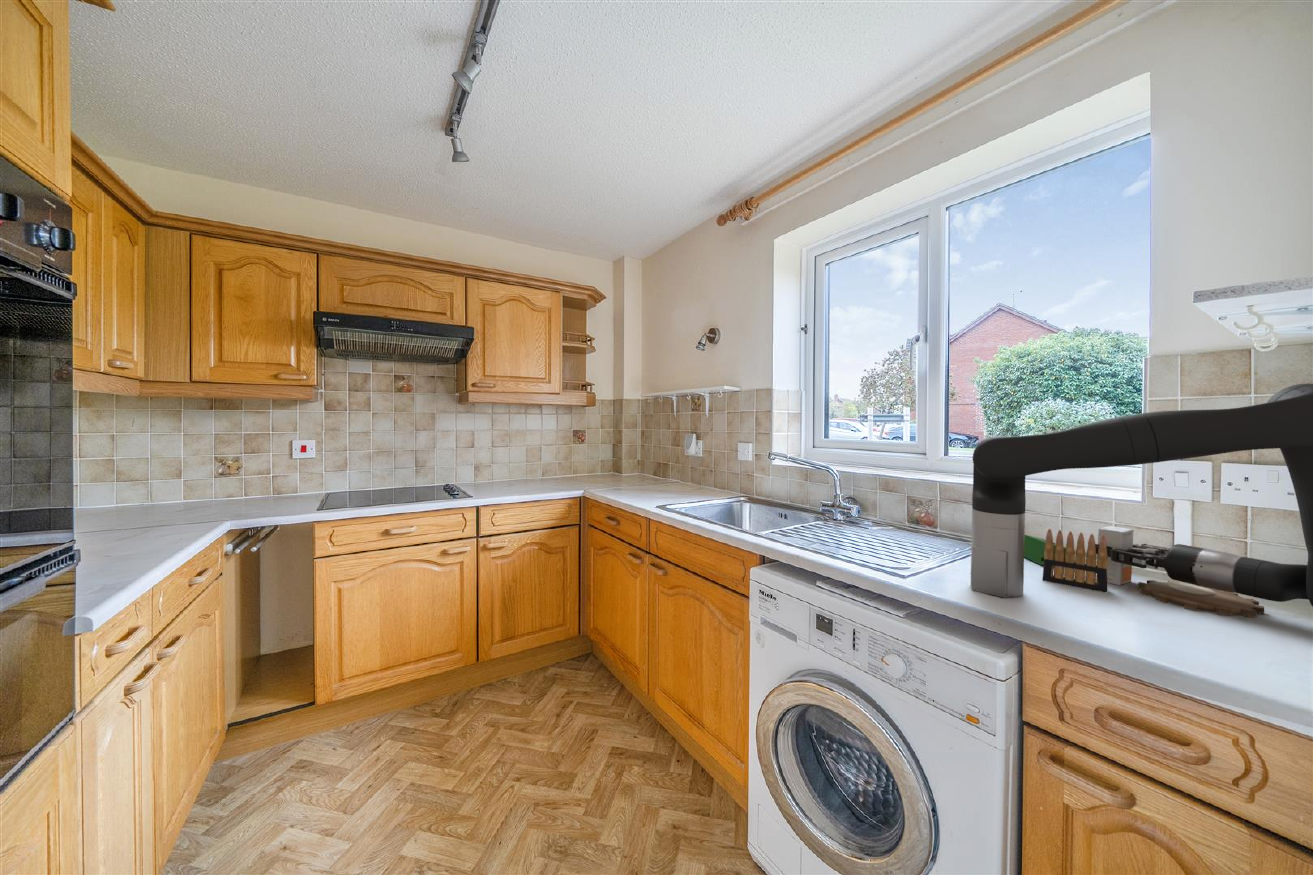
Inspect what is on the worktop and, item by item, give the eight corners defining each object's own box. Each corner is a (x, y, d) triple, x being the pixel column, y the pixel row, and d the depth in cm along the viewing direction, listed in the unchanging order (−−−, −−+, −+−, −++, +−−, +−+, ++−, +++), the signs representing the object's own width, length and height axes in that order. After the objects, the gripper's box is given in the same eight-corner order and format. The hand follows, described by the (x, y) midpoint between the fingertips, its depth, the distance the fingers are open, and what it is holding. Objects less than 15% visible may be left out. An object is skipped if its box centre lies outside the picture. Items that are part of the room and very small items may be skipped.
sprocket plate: (1260, 624, 83) (1261, 617, 83) (1129, 596, 97) (1130, 589, 97) (1266, 603, 93) (1266, 596, 93) (1146, 580, 106) (1146, 574, 106)
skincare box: (1120, 586, 103) (1122, 532, 102) (1095, 580, 106) (1097, 528, 106) (1132, 581, 105) (1134, 529, 105) (1107, 576, 109) (1109, 525, 109)
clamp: (1061, 583, 117) (1081, 556, 113) (1035, 576, 118) (1055, 549, 114) (1037, 553, 127) (1055, 527, 123) (1014, 547, 128) (1031, 521, 124)
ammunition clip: (1107, 590, 100) (1109, 535, 100) (1107, 592, 99) (1109, 536, 98) (1043, 578, 108) (1044, 527, 107) (1042, 580, 106) (1043, 528, 106)
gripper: (1226, 545, 95) (1120, 528, 110) (1188, 553, 90) (1083, 533, 105) (1224, 582, 95) (1119, 559, 111) (1186, 591, 90) (1082, 566, 106)
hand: (1102, 546), depth 108 cm, fingers closed on skincare box, 6 cm apart
